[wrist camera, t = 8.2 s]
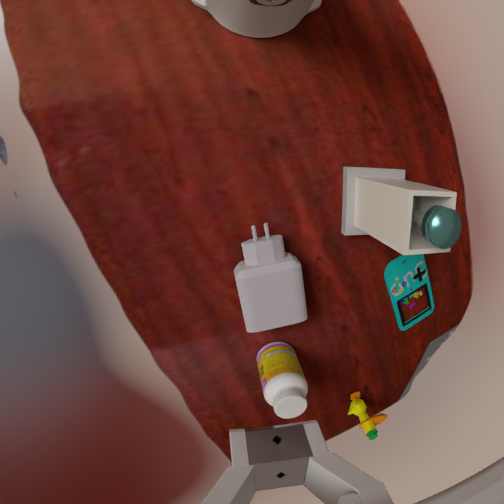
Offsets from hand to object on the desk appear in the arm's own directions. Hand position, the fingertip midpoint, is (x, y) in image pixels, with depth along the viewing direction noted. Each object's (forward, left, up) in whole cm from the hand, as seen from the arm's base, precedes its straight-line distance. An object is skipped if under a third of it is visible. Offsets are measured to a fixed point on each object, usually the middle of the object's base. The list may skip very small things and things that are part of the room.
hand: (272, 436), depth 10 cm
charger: (+8, +5, -38) cm, 39 cm away
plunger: (-2, +22, -31) cm, 38 cm away
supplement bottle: (+24, +7, -37) cm, 45 cm away
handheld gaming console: (+14, +32, -38) cm, 51 cm away
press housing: (-2, +22, -37) cm, 43 cm away
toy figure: (+37, +24, -37) cm, 58 cm away
